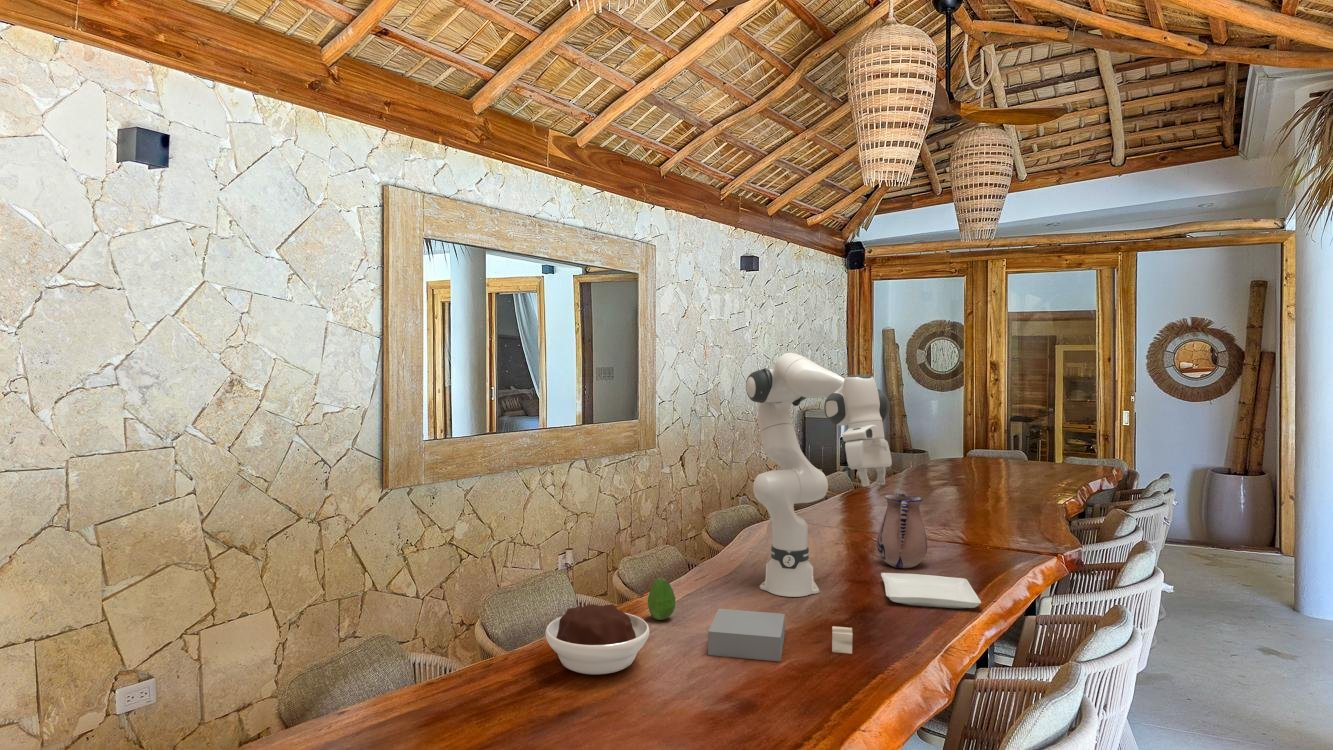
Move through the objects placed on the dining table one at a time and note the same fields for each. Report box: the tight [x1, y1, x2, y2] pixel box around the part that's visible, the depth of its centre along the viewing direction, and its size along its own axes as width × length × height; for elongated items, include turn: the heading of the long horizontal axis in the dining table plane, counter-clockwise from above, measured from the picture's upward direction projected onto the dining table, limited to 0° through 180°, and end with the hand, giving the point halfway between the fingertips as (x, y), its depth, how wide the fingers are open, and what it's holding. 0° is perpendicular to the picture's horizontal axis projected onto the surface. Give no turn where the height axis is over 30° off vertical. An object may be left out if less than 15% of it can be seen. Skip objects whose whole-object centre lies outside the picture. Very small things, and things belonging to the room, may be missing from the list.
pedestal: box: [707, 608, 786, 662], centre depth 205 cm, size 18×18×6 cm
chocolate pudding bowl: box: [545, 604, 650, 676], centre depth 190 cm, size 25×25×15 cm
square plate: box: [880, 572, 982, 609], centre depth 248 cm, size 27×27×4 cm
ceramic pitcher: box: [876, 493, 928, 569], centre depth 282 cm, size 18×21×25 cm
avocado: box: [647, 577, 676, 621], centre depth 224 cm, size 8×8×12 cm
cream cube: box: [831, 625, 854, 655], centre depth 203 cm, size 5×5×5 cm
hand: (873, 485), depth 208 cm, fingers open, 8 cm apart
